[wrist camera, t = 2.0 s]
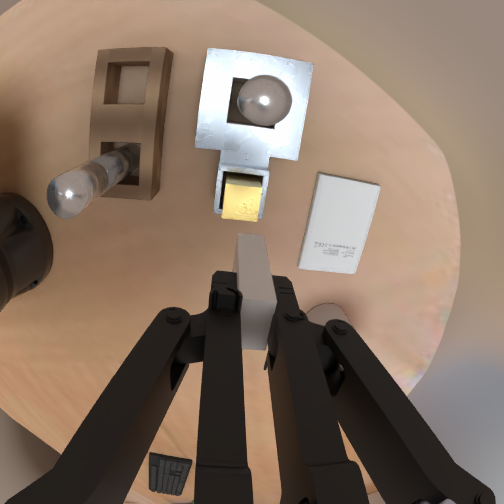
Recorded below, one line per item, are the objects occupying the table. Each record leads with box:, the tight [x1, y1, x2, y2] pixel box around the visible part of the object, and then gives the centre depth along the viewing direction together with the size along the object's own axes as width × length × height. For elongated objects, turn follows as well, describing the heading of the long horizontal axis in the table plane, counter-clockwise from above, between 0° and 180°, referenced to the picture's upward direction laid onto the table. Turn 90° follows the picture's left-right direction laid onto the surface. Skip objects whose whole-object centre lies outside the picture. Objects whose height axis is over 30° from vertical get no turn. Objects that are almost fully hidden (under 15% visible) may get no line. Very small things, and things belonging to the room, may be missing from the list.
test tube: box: [47, 144, 141, 219], centre depth 25 cm, size 3×3×16 cm
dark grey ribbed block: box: [149, 452, 192, 496], centre depth 71 cm, size 35×11×2 cm, turn 165°
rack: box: [89, 47, 173, 200], centre depth 29 cm, size 16×7×4 cm, turn 172°
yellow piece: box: [222, 171, 262, 222], centre depth 30 cm, size 3×3×6 cm
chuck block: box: [195, 48, 314, 219], centre depth 30 cm, size 10×16×5 cm, turn 172°
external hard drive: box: [297, 172, 381, 274], centre depth 38 cm, size 2×8×12 cm
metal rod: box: [236, 75, 292, 126], centre depth 24 cm, size 3×3×16 cm
